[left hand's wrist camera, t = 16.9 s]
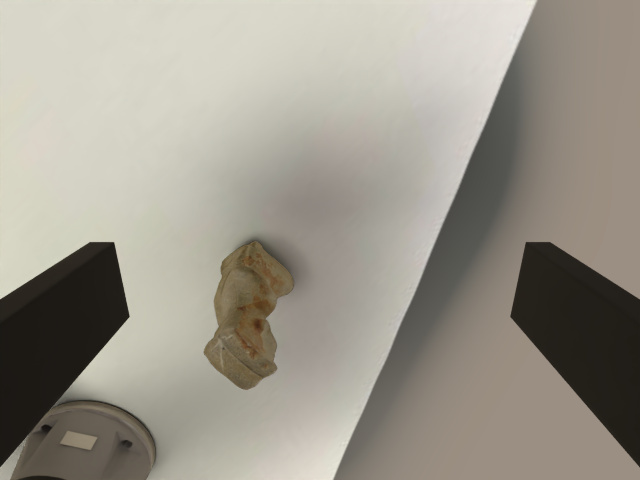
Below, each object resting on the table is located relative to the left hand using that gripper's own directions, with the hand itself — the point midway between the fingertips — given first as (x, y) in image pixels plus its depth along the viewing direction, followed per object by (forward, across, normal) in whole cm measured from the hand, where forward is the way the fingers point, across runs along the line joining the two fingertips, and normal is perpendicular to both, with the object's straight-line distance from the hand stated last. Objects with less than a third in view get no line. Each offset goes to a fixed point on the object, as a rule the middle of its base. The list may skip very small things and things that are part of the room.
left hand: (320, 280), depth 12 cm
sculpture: (+26, +6, +11) cm, 29 cm away
